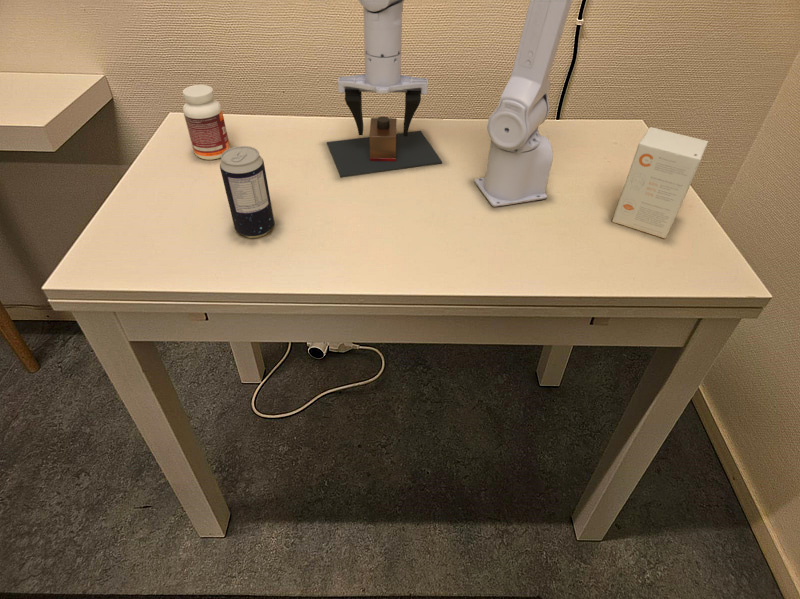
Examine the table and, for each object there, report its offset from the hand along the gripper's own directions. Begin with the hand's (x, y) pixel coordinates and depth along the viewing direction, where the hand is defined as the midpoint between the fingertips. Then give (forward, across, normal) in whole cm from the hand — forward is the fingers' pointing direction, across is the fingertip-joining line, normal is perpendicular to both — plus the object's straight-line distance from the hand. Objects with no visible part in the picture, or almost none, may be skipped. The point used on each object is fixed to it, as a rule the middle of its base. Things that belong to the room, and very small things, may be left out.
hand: (383, 133), depth 92 cm
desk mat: (+4, 0, 0) cm, 4 cm away
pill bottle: (+4, -30, -1) cm, 30 cm away
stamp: (+3, 0, 0) cm, 3 cm away
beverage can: (+4, -18, -23) cm, 30 cm away
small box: (+4, +40, -19) cm, 45 cm away
